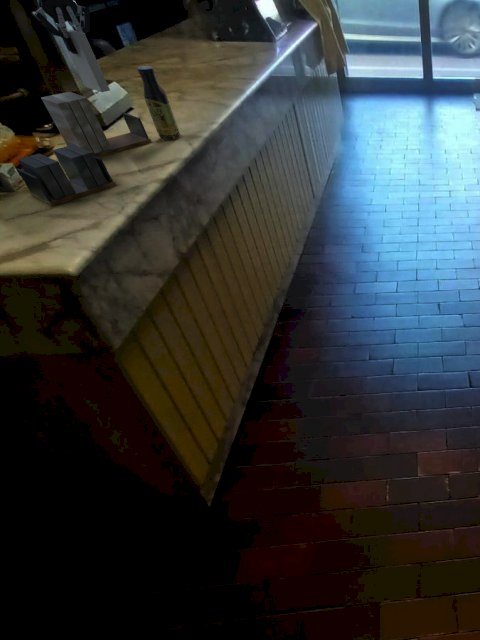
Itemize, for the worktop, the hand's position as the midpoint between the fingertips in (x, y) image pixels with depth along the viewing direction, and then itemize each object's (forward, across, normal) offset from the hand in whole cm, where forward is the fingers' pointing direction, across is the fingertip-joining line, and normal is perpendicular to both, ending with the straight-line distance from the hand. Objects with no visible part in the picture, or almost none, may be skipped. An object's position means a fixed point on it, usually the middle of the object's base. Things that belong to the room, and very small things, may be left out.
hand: (80, 52), depth 142 cm
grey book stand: (+25, +4, 0) cm, 25 cm away
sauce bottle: (+25, -12, +6) cm, 28 cm away
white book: (+9, 0, 0) cm, 9 cm away
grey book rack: (+25, +26, +23) cm, 42 cm away
